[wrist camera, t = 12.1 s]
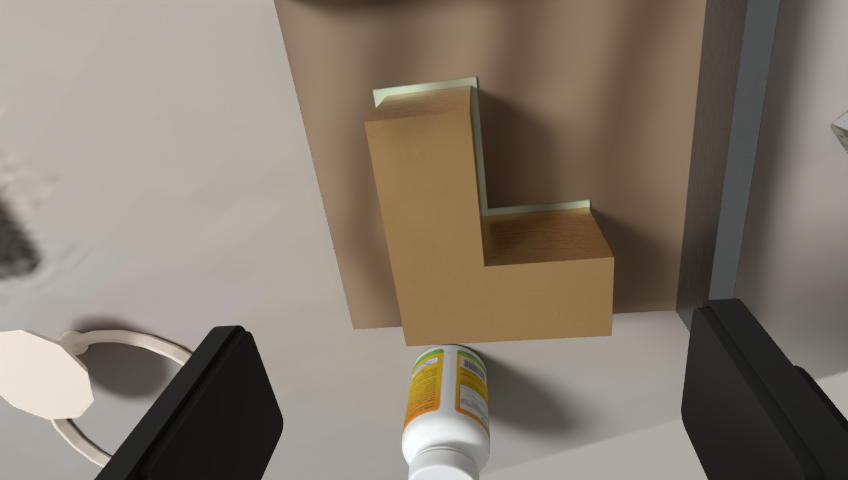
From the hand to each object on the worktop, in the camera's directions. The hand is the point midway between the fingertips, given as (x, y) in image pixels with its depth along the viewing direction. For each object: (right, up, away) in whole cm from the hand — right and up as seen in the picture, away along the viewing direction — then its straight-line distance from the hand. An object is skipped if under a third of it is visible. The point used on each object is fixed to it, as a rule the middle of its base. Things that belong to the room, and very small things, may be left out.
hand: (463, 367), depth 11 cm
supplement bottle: (+1, -7, +26) cm, 27 cm away
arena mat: (+4, +8, +18) cm, 20 cm away
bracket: (+3, +6, +18) cm, 19 cm away
